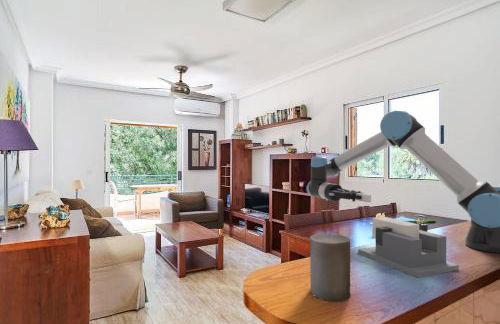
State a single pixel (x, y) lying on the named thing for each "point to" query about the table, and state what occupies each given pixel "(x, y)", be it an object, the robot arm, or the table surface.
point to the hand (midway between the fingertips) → (369, 198)
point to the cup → (423, 227)
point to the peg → (396, 226)
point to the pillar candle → (330, 266)
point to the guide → (410, 252)
